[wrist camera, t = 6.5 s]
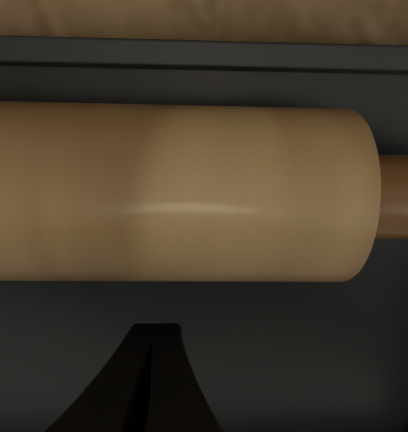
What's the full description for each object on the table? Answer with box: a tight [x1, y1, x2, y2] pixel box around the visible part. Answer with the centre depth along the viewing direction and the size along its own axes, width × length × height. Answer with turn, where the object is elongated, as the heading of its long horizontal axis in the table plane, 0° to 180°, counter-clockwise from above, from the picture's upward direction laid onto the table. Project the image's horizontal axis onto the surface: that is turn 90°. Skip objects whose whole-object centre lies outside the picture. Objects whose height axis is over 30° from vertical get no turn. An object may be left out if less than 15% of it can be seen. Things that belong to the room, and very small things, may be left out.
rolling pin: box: [0, 101, 408, 282], centre depth 9 cm, size 18×4×4 cm, turn 89°
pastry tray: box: [0, 35, 408, 432], centre depth 12 cm, size 21×15×2 cm
